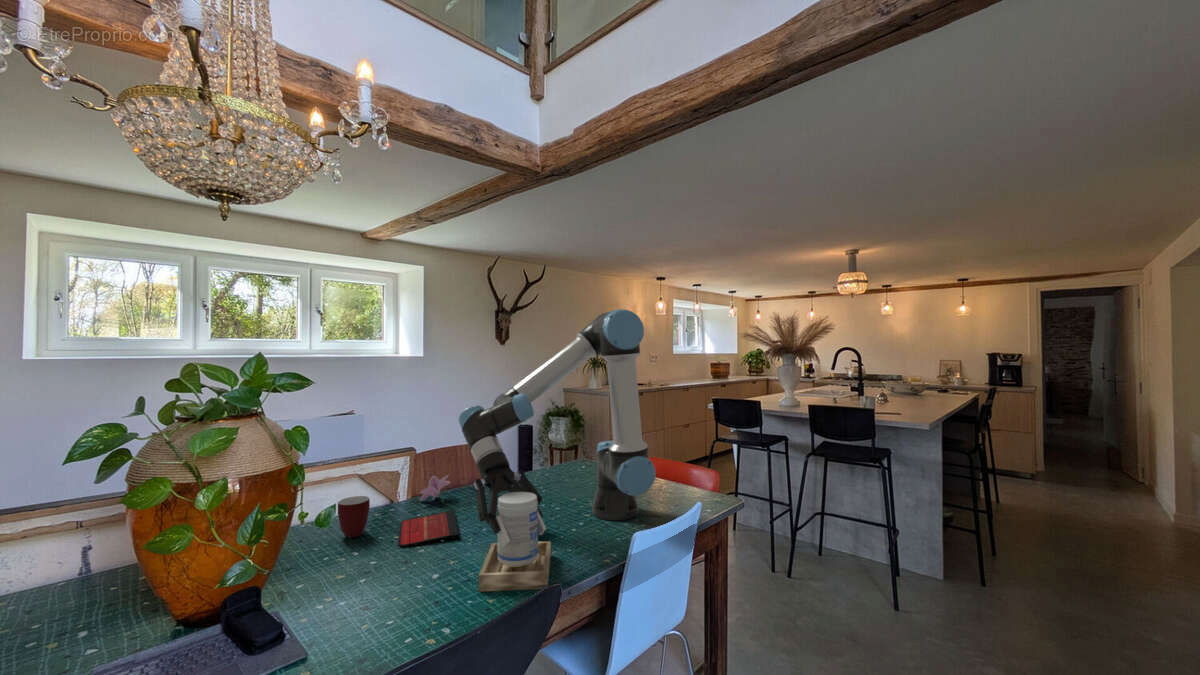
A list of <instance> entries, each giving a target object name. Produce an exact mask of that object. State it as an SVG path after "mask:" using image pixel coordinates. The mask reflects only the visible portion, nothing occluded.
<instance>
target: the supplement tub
mask: <svg viewBox="0 0 1200 675" xmlns="http://www.w3.org/2000/svg"><path fill="white" fill-rule="evenodd" d="M497 503H498V505H497V508H496V510H497V516H499V515H500V518H501V520H502V522H503V525H504V527H505V529H506V532H507V534H508V537H509V539H510V542H509V544H508V545H507V546H506V547H505V548H503V547H502V544H501V542H500V539H499V537H498V536H497V543H498V560H499V562H500V563H501V564H502V565H504V566H508V567H520V566H525V565H528V564H531V563H532V562H534V561H535V560H536V559H537V556H538V542H539V534H538V507H539V505H538V504H537V503H538V502H537V496H536V495H535V494H533V493H530V492H512V493H510V492H508V493H505V494H501V495H500V496H498V498H497Z"/></svg>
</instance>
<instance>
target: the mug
mask: <svg viewBox="0 0 1200 675" xmlns="http://www.w3.org/2000/svg"><path fill="white" fill-rule="evenodd" d="M370 499H371V498H370V497H369V496H366V495H365V496H364V495H360V496H358V495H356V496H350V497H345V498H343V499H340V500H339V501H338V502H337V516H338V519H339V520H338V521H339V526H340V530H341V532H342V533H343V535H344V537H345V536H346V537H355V538H357V537H356V536H358V537H360V536H362V534H363V533H364V530H365V528H366V526H367V522H368V518H369V513H370V512H369V511H370V506H371V505H370V502H371V501H370ZM359 535H360V536H359ZM346 537H345V538H346Z"/></svg>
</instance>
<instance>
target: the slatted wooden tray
mask: <svg viewBox="0 0 1200 675" xmlns="http://www.w3.org/2000/svg"><path fill="white" fill-rule="evenodd" d="M551 558H552V540H551V541H550V540H549V541H547V540H546V541H538V556H537V559H536V560H535V561H534V562H532V563H531V564H528V565H525V566H520V567H508V566H504V565H502V564H501V563H500V562H499V560H498V542H492V543H491V544H490V547H489V550H488V552H487V554H486V556H485V559H484V561H483V564H482V566H481V569H480V571H479V574H478V592H479V593H480V592H503V591H506V592H508V591H530V590H531V591H532V590H543V589H542V588H544V587H546V586H548V587H549V578H550V577H549V576H550V569H551V568H550V567H551V560H552V559H551ZM550 559H551V560H550Z"/></svg>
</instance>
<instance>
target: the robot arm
mask: <svg viewBox="0 0 1200 675" xmlns="http://www.w3.org/2000/svg"><path fill="white" fill-rule="evenodd" d="M644 335H645V327H644V324H643V321H642V320H641V318H640V317H639V315H637V313H635V312H633V311H631V310H629V309H620V308H619V309H613V310H611V311H607V312H604V313H601V314H599V315H598V316H596V317H595V318H594V319H593V320H592V321H591V322H590V323H589V324H588V325H587V326H585V327H584V328H583V329H582V330H581V331H579V332H578V333H576V338H575V339H574V340H572V341H571V342H570V343H569V344H567V345H566V346H565V347H563V348H562V349H560V351H558V352H557V353H555V354H554V355H553V356H552V357H550V358H549V359H548V360H547V361H545V362H543V363H542V364H541V365H540V366H538V367H537V368H536V369H535V370H533V371H532V372H530V373H529V374H528V375H527V376H526V377H524V378H523V379H521V380H520V381H519V382H517V383H516V384H515V385H514V386H513V387H511V388H510V389H508V390H507V391H506V392H505V393H502V394H499V395H498V396H497V397H496V398H495V399H494V401H493V405H492V406H491V407H489V408H486V409H485V408H484V407H483V406H481V405H480V404H478V405H474V406H471V405H470V406H469V407H466V408H465V409H464V410H462V411H461V413H460V414H459V416H458V424H459V426H460V429H461V431H462V433H463V437H464V439H465V442H466V443H467V445H468V448H469V450H470V452H471V455H472V457H473V459H474V462H475V464H476V465H477V466H476V467H477V470H478V473H479V475H480V477H481V478H476V480H475V481H474V483H473V484H472V488H473V490H474V492H475V496H476V503H477V504H476V505H477V512H478V513H477V514H478V519H479V522H486V524H488V525H490V527H491V530H492V532H493V534H494V535H497V538H498V537H499V539H500V542H501V544H502V547H503V548H505V547H506V546H507V545H508V544H509V542H510V539H509V537H508V534H507V532H506V529H505V527H504V525H503V522H502V520H501V518H500V515H499V516H498V515H497V507H498V505H497V503H498V498H499V493H501V492H507V491H508V493H512V492H530V493H533V494H535V495H536V496H537V502H538V503H537V504H538V536H542V535H543V534H544V533H545V532H546V530H547V527H546V525H545V523H544V521H543V519H542V518H543V513H542V511H541V510H540V506H539V505H540V503H541V502H542V501H543V497H542V496H541V495H540V493H539V492H538V491H537V489H536V488H535V487H534V485H533V484H532V482H531V481H530V480H529V478H528V477H527V475H526V474H525V471H524V469H521V468H520V469H519V471H515V472H514V471H513V470H512V469H511V466H510V462H509V460H508V458H507V456H506V453H505V452H504V449H503V447H502V445H501V443H500V442H501V441H499V439H498V438H499V437H497V435H499V434H502V433H503V432H505V431H508V430H510V429H511V428H513V427H515V426H516V427H517V426H518V425H520V424H522V423H525V422H527V420H529V419H531V418H533V417H534V416H535V410H534V408H533V405H532V403H534V402H535V401H536V400H538V399H539V398H540V397H542V396H543V395H544V394H545V393H547V392H548V391H549V390H550V389H552V388H553V387H555V386H556V385H557V384H558V383H560V382H561V381H562V380H563V379H565V378H566V377H567V376H569V375H570V374H571V373H573V372H574V371H575V370H576V369H578V368H580V366H581V365H583V364H584V363H586V362H587V361H588V360H589V359H590V358H592V359H593V358H595V359H596V358H597V357H598V356H600V355H601V358H602V359H603V360H604V361H605V362H606V366H607V377H608V380H607V381H608V391H609V403H610V414H611V426H612V427H611V428H612V439H613V440H604V441H600V442H599V443H598V444H597V447H596V448H597V450H596V456H597V457H596V461H597V462H596V466H597V470H596V471H597V472H596V473H597V476H596V477H597V478H596V480H597V481H596V482H597V485H596V486H597V488H596V492H595V494H594V499H593V502H592V505H591V511H592V515H593V516H595V517H596V518H597V519H601V520H606V521H608V520H609V521H625V520H630V519H633V518H635V517H637V516H638V515H639V513H640V512H639V511H640V510H639V508H640V507H639V503H638V499H637V497H638V496H641V495H643V494H645V493H647V492H648V491H649V490H650V489H651V487H652V486H653V485H654V483H655V480H656V473H657V472H656V467H655V465H654V464H653V462H652V461H651V460H650V457H649V456H650V454H649V445H648V444H647V443H646V442H645V441H644V440H643V437H642V436H643V434H642V424H641V423H642V422H641V410H640V408H641V407H640V396H639V389H638V388H639V387H638V386H639V385H638V372H637V362H636V360H637V358H638V357H639V356H640V355H641V346H640V343H641V342H642V340H643V338H644ZM485 486H486V488H488V489H489V500H488V503H487V497H486V490H485ZM487 505H488V506H487Z"/></svg>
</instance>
